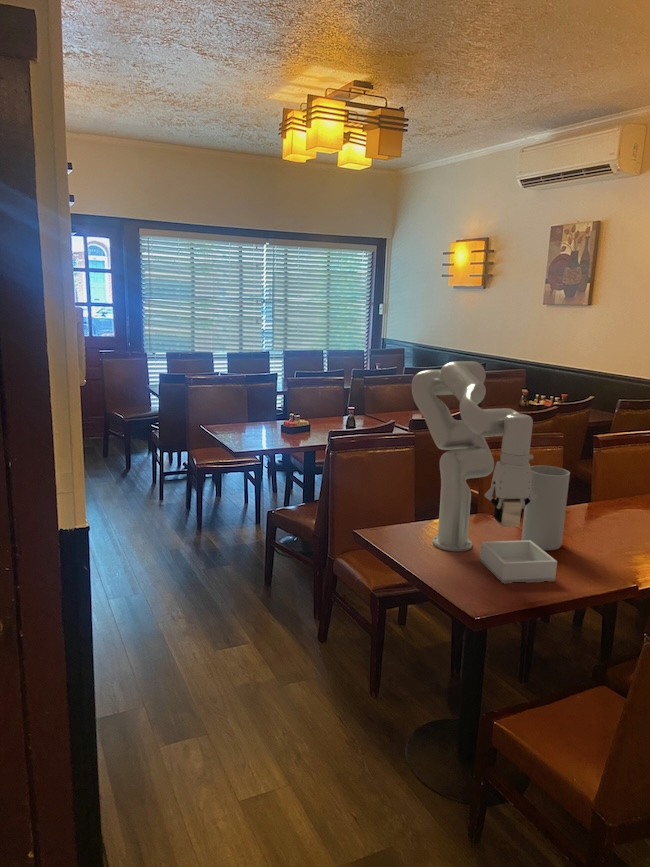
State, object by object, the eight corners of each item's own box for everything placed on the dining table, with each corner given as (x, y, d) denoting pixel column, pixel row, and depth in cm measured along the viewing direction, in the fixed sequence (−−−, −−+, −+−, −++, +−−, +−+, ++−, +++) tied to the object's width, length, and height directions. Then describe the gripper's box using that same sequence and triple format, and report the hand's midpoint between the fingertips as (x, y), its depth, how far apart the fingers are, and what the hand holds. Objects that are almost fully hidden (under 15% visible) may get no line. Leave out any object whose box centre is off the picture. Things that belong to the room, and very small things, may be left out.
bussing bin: (479, 560, 191) (481, 541, 190) (528, 558, 194) (530, 540, 193) (502, 583, 176) (504, 563, 175) (555, 581, 178) (557, 561, 177)
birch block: (495, 520, 179) (497, 496, 178) (512, 520, 180) (514, 496, 178) (502, 526, 175) (504, 502, 173) (519, 526, 175) (522, 502, 174)
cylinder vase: (514, 543, 206) (521, 469, 201) (532, 534, 215) (539, 463, 209) (550, 554, 197) (559, 478, 192) (567, 544, 206) (576, 471, 201)
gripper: (537, 455, 178) (530, 515, 182) (479, 454, 176) (474, 516, 180) (549, 462, 170) (542, 525, 175) (489, 462, 168) (483, 525, 173)
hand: (507, 519), depth 177 cm, fingers closed on birch block, 5 cm apart
